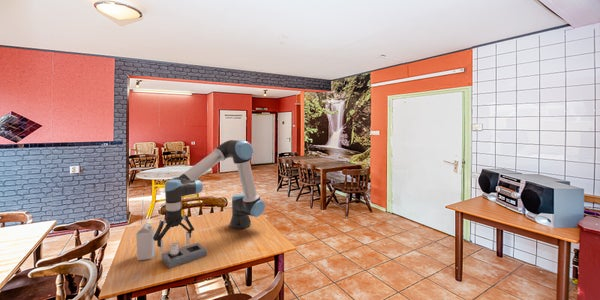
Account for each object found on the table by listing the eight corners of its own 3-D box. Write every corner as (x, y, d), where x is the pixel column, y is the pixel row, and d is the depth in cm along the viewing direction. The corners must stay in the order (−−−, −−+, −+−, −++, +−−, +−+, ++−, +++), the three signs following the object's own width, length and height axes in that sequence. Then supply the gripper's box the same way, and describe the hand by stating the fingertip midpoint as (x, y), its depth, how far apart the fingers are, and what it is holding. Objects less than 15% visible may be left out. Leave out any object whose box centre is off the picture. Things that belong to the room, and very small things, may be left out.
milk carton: (137, 260, 142) (135, 226, 140) (141, 254, 148) (139, 221, 147) (152, 259, 144) (150, 225, 142) (155, 253, 150) (154, 220, 149)
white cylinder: (177, 258, 145) (177, 242, 144) (180, 261, 142) (180, 244, 141) (169, 260, 142) (168, 244, 141) (172, 263, 139) (171, 247, 138)
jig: (198, 248, 157) (197, 242, 157) (207, 255, 148) (206, 249, 148) (161, 259, 143) (161, 253, 143) (169, 268, 134) (169, 261, 134)
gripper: (194, 203, 151) (195, 238, 153) (145, 212, 134) (147, 252, 136) (199, 206, 146) (200, 243, 148) (149, 216, 128) (151, 258, 130)
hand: (175, 247), depth 142 cm, fingers open, 13 cm apart
